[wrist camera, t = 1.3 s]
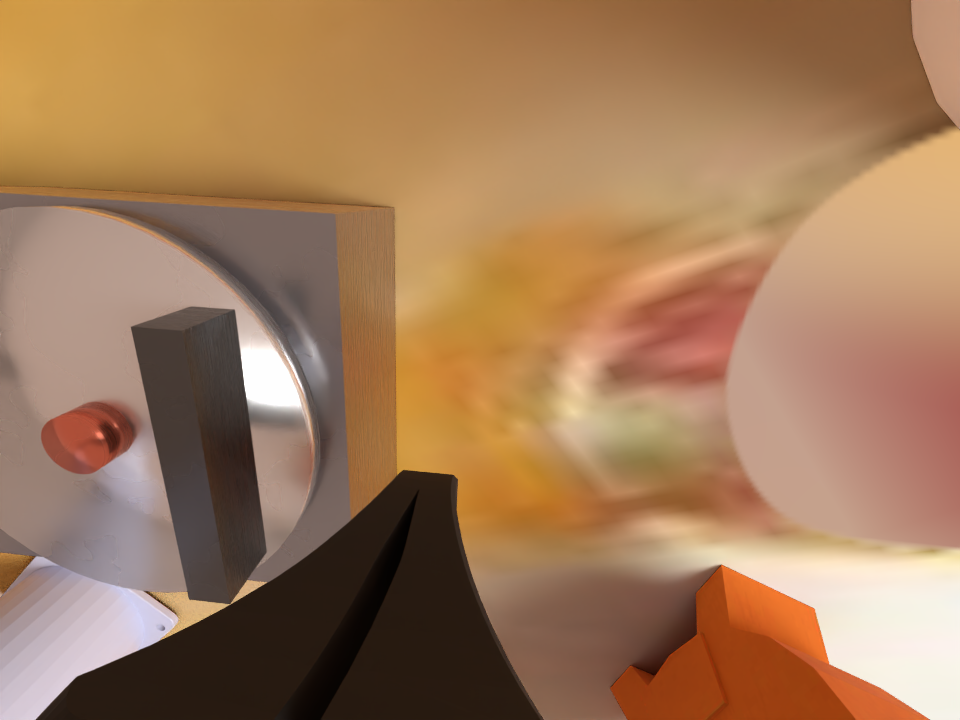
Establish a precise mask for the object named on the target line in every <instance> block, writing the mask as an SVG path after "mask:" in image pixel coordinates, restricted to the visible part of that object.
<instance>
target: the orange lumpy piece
mask: <svg viewBox="0 0 960 720" xmlns="http://www.w3.org/2000/svg"><path fill="white" fill-rule="evenodd" d="M696 617H697V635H696V636H694V637H693V638H692V639H690V640H689V641H688V642H686V643H685V644H684V645H682V646H681V647H680V648H678V649H677V650H676V651H674V652H673V653H672V654H670V655H669V657H668V658H667V659H666V661H665V662H664V664H663V665H662V667H661V668H660V669H659V671H658V672H657V674H656V675H655V676H654V675H651V674H649V673H647V672H645V671H642V670H640V669H638V668H636V667H633V666H631V665H630V666H629V667H628V669H627V670H626V671H625V672H624V673H623V674H622V675H621V676H620V678H619V679H618V680H617V681H616V682H615V683H614V684H613V685H612V687H611V688H610V689H611V691H612V693H613V695H614V696H615V698H616V700H617V702H618V704H619V705H620V707H621V709H622V711H623V713H624V714H625V716H626V718H627V720H930V719H928V718H927V717H925V716H923V715H922V714H920V713H919V712H917V711H916V710H914V709H912V708H911V707H909V706H908V705H906V704H905V703H903V702H901V701H900V700H898V699H897V698H895V697H894V696H892V695H890V694H889V693H887V692H886V691H884V690H883V689H881V688H879V687H877V686H875V685H873V684H870V683H868V682H866V681H864V680H862V679H860V678H857V677H855V676H853V675H851V674H849V673H847V672H845V671H842V670H840V669H838V668H836V667H834V666H832V665H829V661H828V657H827V654H826V650H825V646H824V643H823V639H822V635H821V631H820V628H819V624H818V620H817V617H816V613H815V609H814V608H812V607H810V606H808V605H806V604H803V603H801V602H799V601H797V600H795V599H793V598H791V597H789V596H787V595H784V594H782V593H780V592H778V591H776V590H774V589H772V588H770V587H767V586H765V585H763V584H761V583H759V582H757V581H755V580H753V579H751V578H748V577H746V576H744V575H742V574H740V573H738V572H736V571H734V570H732V569H729V568H727V567H725V566H723V565H721V566H720V567H719V568H718V569H717V570H716V572H715V573H714V574H713V575H712V576H711V577H710V578H709V579H708V580H707V581H706V583H705V584H704V585H703V586H702V587H701V588H700V589H699V590H698V591H697V593H696Z"/></svg>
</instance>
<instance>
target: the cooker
mask: <svg viewBox="0 0 960 720" xmlns="http://www.w3.org/2000/svg"><path fill="white" fill-rule="evenodd" d="M39 206H79V207H87V208H94V209H102V210H107V211H111V212H114V213H118V214H122V215H125V216H129V217H133V218H136V219H139V220H141V221H143V222H146V223H148V224H151V225H153V226H156V227H158V228H161V229H163V230H165V231H167V232H169V233H171V234H173V235H174V236H176V237H178V238H180V239H182V240H184V241H185V242H187V243H189V244H191V245H193V246H194V247H196V248H197V249H199V250H200V251H201V252H203V253H204V254H206V255H207V256H209V257H210V258H211V259H213V260H214V261H216V262H217V263H219V264H220V265H221V266H222V267H223V268H225V269H226V270H227V271H228V272H229V273H230V274H231V275H233V276H234V277H235V278H236V279H237V280H238V281H239V282H241V283H242V284H243V285H244V286H245V287H246V288H247V289H248V290H249V291H250V292H251V294H252V295H253V296H254V297H255V298H256V299H257V300H258V301H259V302H260V303H261V304H262V306H263V307H264V308H265V309H266V310H267V311H268V313H269V314H270V315H271V317H272V318H273V320H274V321H275V322H276V324H277V325H278V326H279V328H280V329H281V330H282V332H283V333H284V335H285V336H286V338H287V340H288V342H289V343H290V345H291V347H292V349H293V350H294V352H295V354H296V355H297V357H298V359H299V361H300V363H301V366H302V368H303V370H304V373H305V375H306V377H307V380H308V382H309V385H310V388H311V391H312V395H313V398H314V402H315V405H316V409H317V414H318V421H319V428H320V434H321V459H320V465H319V472H318V478H317V482H316V485H315V488H314V491H313V494H312V497H311V500H310V502H309V504H308V506H307V508H306V510H305V512H304V513H303V515H302V517H301V519H300V520H299V522H298V523H297V525H296V526H295V527H294V529H293V530H292V532H291V533H290V535H289V536H288V537H287V539H286V540H285V541H284V543H283V544H282V545H281V547H280V548H279V549H278V550H277V551H276V552H275V553H274V554H273V555H272V556H271V557H270V558H269V559H268V560H266V561H265V562H264V563H263V564H261V565H260V566H258V567H257V568H255V570H254V571H253V572H252V574H251V575H250V577H249V578H248V579H247V580H253V581H262V582H269V581H271V580H273V579H274V578H276V577H277V576H279V575H280V574H282V573H283V572H285V571H286V570H288V569H289V568H291V567H292V566H294V565H295V564H296V563H298V562H299V561H301V560H302V559H303V558H305V557H306V556H307V555H309V554H310V553H311V552H313V551H314V550H315V549H317V548H318V547H319V546H320V545H322V544H323V543H324V542H325V541H327V540H328V539H329V538H330V537H331V536H333V535H334V534H335V533H336V532H337V531H339V530H340V529H341V528H342V527H343V526H345V525H346V524H347V523H348V522H349V521H350V520H351V519H353V518H354V517H355V516H356V515H357V514H358V513H359V512H360V511H361V510H362V509H363V508H365V507H366V506H367V505H368V504H369V503H370V502H371V501H372V500H373V499H374V498H375V497H376V496H377V495H378V494H379V493H380V492H381V491H382V490H383V489H384V488H385V487H386V486H387V485H388V484H389V483H390V482H391V481H392V480H393V479H394V478H395V477H396V476H397V469H396V358H395V247H394V208H388V207H372V206H355V205H339V204H323V203H306V202H290V201H273V200H257V199H240V198H224V197H208V196H191V195H175V194H158V193H142V192H125V191H109V190H93V189H76V188H60V187H20V186H0V210H2V209H8V208H14V207H39ZM0 552H1V553H10V554H19V555H28V556H37V557H42V556H40V555H39V554H37V553H35V552H33V551H32V550H30V549H28V548H27V547H25V546H24V545H23V544H21V543H20V542H18V541H17V540H15V539H14V538H12V537H11V536H9V535H8V534H7V533H5V532H4V531H3V530H2V529H0Z"/></svg>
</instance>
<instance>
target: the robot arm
mask: <svg viewBox="0 0 960 720" xmlns="http://www.w3.org/2000/svg"><path fill="white" fill-rule="evenodd" d="M457 487H458V479H457V478H456V477H455V476H454V475H449V474H439V473H428V472H418V471H408V470H403V471H402V472H400V473H399V474H398V475H397V476H396V477H395V478H394V479H393V480H392V481H391V482H390V483H389V484H388V485H387V486H386V487H385V488H384V489H383V490H382V491H381V492H380V493H379V494H378V495H377V496H376V497H375V498H374V499H373V500H372V501H371V502H370V503H369V504H368V505H367V506H366V507H365V508H363V509H362V510H361V511H360V512H359V513H358V514H357V515H356V516H355V517H354V518H353V519H351V520H350V521H349V522H348V523H347V524H346V525H345V526H343V527H342V528H341V529H340V530H339V531H337V532H336V533H335V534H334V535H333V536H331V537H330V538H329V539H328V540H327V541H325V542H324V543H323V544H322V545H320V546H319V547H318V548H317V549H315V550H314V551H313V552H311V553H310V554H309V555H307V556H306V557H305V558H303V559H302V560H301V561H299V562H298V563H296V564H295V565H294V566H292V567H291V568H289V569H288V570H286V571H285V572H283V573H282V574H280V575H279V576H277V577H276V578H274V579H273V580H271V581H269V582H268V583H266V584H264V585H263V586H261V587H259V588H258V589H256V590H254V591H253V592H251V593H249V594H248V595H246V596H244V597H243V598H241V599H239V600H238V601H236V602H234V603H233V604H231V605H229V606H227V607H226V608H224V609H222V610H220V611H218V612H216V613H214V614H212V615H211V616H209V617H207V618H205V619H203V620H201V621H199V622H197V623H195V624H193V625H191V626H189V627H187V628H185V629H183V630H181V631H179V632H177V633H175V634H173V635H171V636H169V637H167V638H165V639H162V640H160V639H161V638H162V637H163V636H165V635H166V634H167V633H168V632H169V631H170V630H171V629H173V628H174V626H175V625H176V624H177V622H178V617H177V615H176V614H175V613H173V612H172V611H171V610H169V609H168V608H166V607H165V606H164V605H162V604H161V603H159V602H158V601H157V600H155V599H154V598H153V597H151V596H150V595H148V594H147V593H146V592H144V591H141V590H135V589H129V588H123V587H119V586H115V585H111V584H107V583H103V582H100V581H97V580H94V579H91V578H88V577H86V576H83V575H80V574H77V573H75V572H72V571H70V570H68V569H66V568H64V567H62V566H59V565H57V564H55V563H53V562H51V561H49V560H48V559H46V558H44V557H37V556H36V557H35V558H34V559H33V560H32V561H31V562H30V564H29V565H28V566H27V567H26V568H25V569H24V570H23V572H22V573H21V574H20V575H19V576H18V577H17V579H16V580H15V581H14V582H13V583H12V584H11V586H10V587H9V588H8V589H7V590H6V591H5V593H4V594H3V595H2V596H1V597H0V720H544V719H543V718H542V716H541V715H540V713H539V712H538V710H537V708H536V707H535V705H534V703H533V702H532V700H531V699H530V697H529V695H528V694H527V692H526V690H525V689H524V687H523V685H522V683H521V681H520V680H519V678H518V676H517V674H516V673H515V671H514V669H513V667H512V665H511V664H510V662H509V660H508V658H507V656H506V654H505V652H504V650H503V648H502V645H501V643H500V641H499V639H498V637H497V635H496V633H495V631H494V629H493V627H492V625H491V623H490V621H489V618H488V616H487V614H486V611H485V609H484V606H483V604H482V602H481V599H480V596H479V594H478V591H477V588H476V586H475V583H474V580H473V577H472V574H471V571H470V568H469V564H468V561H467V557H466V554H465V550H464V546H463V542H462V538H461V533H460V528H459V523H458V517H457ZM159 640H160V641H159Z"/></svg>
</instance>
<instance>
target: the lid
mask: <svg viewBox="0 0 960 720" xmlns="http://www.w3.org/2000/svg"><path fill="white" fill-rule="evenodd" d="M320 459H321V434H320V428H319V421H318V414H317V409H316V405H315V402H314V398H313V395H312V391H311V388H310V385H309V382H308V380H307V377H306V375H305V373H304V370H303V368H302V366H301V363H300V361H299V359H298V357H297V355H296V354H295V352H294V350H293V349H292V347H291V345H290V343H289V342H288V340H287V338H286V336H285V335H284V333H283V332H282V330H281V329H280V328H279V326H278V325H277V324H276V322H275V321H274V320H273V318H272V317H271V315H270V314H269V313H268V311H267V310H266V309H265V308H264V307H263V306H262V304H261V303H260V302H259V301H258V300H257V299H256V298H255V297H254V296H253V295H252V294H251V292H250V291H249V290H248V289H247V288H246V287H245V286H244V285H243V284H242V283H241V282H239V281H238V280H237V279H236V278H235V277H234V276H233V275H231V274H230V273H229V272H228V271H227V270H226V269H225V268H223V267H222V266H221V265H220V264H219V263H217V262H216V261H214V260H213V259H211V258H210V257H209V256H207V255H206V254H204V253H203V252H201V251H200V250H199V249H197V248H196V247H194V246H193V245H191V244H189V243H187V242H185V241H184V240H182V239H180V238H178V237H176V236H174V235H173V234H171V233H169V232H167V231H165V230H163V229H161V228H158V227H156V226H153V225H151V224H148V223H146V222H143V221H141V220H139V219H136V218H133V217H129V216H125V215H122V214H118V213H114V212H111V211H107V210H102V209H94V208H87V207H79V206H39V207H14V208H8V209H2V210H0V529H2V530H3V531H4V532H5V533H7V534H8V535H9V536H11V537H12V538H14V539H15V540H17V541H18V542H20V543H21V544H23V545H24V546H25V547H27V548H28V549H30V550H32V551H33V552H35V553H37V554H39V555H40V556H42V557H44V558H46V559H48V560H49V561H51V562H53V563H55V564H57V565H59V566H62V567H64V568H66V569H68V570H70V571H72V572H75V573H77V574H80V575H83V576H86V577H88V578H91V579H94V580H97V581H100V582H103V583H107V584H111V585H115V586H119V587H123V588H129V589H135V590H141V591H150V592H166V593H169V592H188V597H189V599H190V600H199V601H207V602H216V603H225V604H230V603H231V602H232V601H233V599H234V598H235V596H236V595H237V594H238V592H239V591H240V589H241V588H242V587H243V585H244V584H245V582H246V581H247V579H248V578H249V577H250V575H251V574H252V572H253V571H254V570H255V568H257V567H258V566H260V565H261V564H263V563H264V562H265V561H266V560H268V559H269V558H270V557H271V556H272V555H273V554H274V553H275V552H276V551H277V550H278V549H279V548H280V547H281V545H282V544H283V543H284V541H285V540H286V539H287V537H288V536H289V535H290V533H291V532H292V530H293V529H294V527H295V526H296V525H297V523H298V522H299V520H300V519H301V517H302V515H303V513H304V512H305V510H306V508H307V506H308V504H309V502H310V500H311V497H312V494H313V491H314V488H315V485H316V482H317V478H318V472H319V465H320Z"/></svg>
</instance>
